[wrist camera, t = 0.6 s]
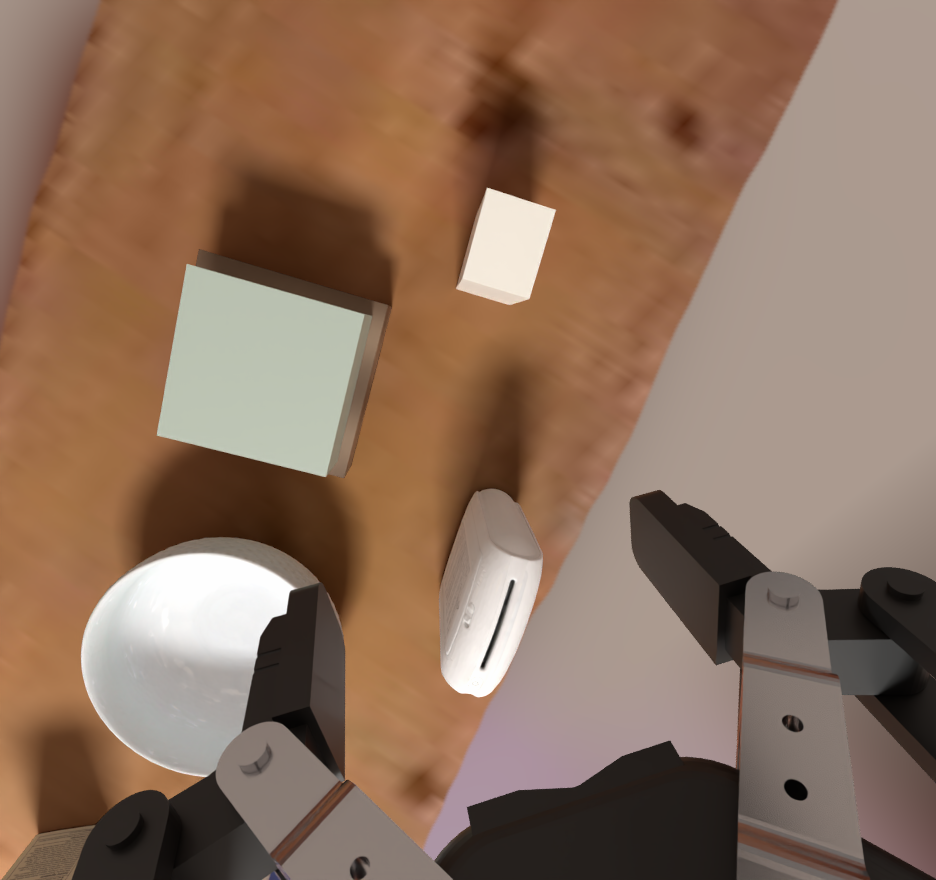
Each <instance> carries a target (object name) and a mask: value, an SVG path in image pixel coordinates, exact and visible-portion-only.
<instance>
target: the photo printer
mask: <svg viewBox="0 0 936 880" xmlns="http://www.w3.org/2000/svg"><path fill="white" fill-rule="evenodd" d="M542 563H543V553H542V551H541V549H540V546H539V544H538V542H537V540H536V538H535V536H534V533H533V531H532V529H531V527H530V525H529V523H528V521H527V519H526V517H525V515H524V512H523V511H522V509H521V507H520V505H519V504H518V503H516V502H514V501H513V500H512V498H511V497H510V496H509V495H508V494H506V493H505V492H503V491H501V490H498V489H485V490H482V491H480V492H478V491H476V492H475V493H474V495H473V497H472V498H471V500H470V502H469V504H468V506H467V509H466V511H465V514H464V517H463V519H462V522H461V525H460V528H459V530H458V533H457V536H456V539H455V542H454V545H453V548H452V551H451V554H450V556H449V559H448V563H447V566H446V569H445V572H444V576H443V579H442V582H441V587H440V594H439V615H440V654H441V671H442V674H443V677H444V678H445V680H446V681H447V683H448V684H449V685H450V686H451V687H452V688H454V689H455V690H456V691H457V692H459V693H468V694H472V695H474V696H477V697H483V696H486V695H488V694H489V693H491V692H492V691H493V689H494V688H495V687H496V686H497V685H498V683H499V682H500V681H501V679H502V678H503V676H504V675H505V673H506V671H507V669H508V667H509V665H510V663H511V661H512V659H513V657H514V655H515V653H516V650H517V648H518V646H519V643H520V641H521V638H522V635H523V633H524V630H525V628H526V625H527V622H528V619H529V616H530V613H531V610H532V607H533V604H534V601H535V597H536V594H537V590H538V586H539V582H540V578H541V573H542Z"/></svg>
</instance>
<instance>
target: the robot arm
mask: <svg viewBox="0 0 936 880" xmlns="http://www.w3.org/2000/svg"><path fill="white" fill-rule="evenodd" d="M630 522H631V541H632V549H633V553H634V556H635V559H636V561H637V563H638V565H639V567H640V568H641V570H642V571H643V572H644V574H645V575H646V576H647V577H648V579H649V580H650V581H651V582H652V584H653V585H654V586H655V588H656V589H657V590H658V592H659V593H660V594H661V595H662V597H663V598H664V599H665V601H666V602H667V603H668V604H669V606H670V607H671V608H672V610H673V611H674V612H675V613H676V614H677V616H678V617H679V618H680V620H681V621H682V622H683V623H684V625H685V626H686V627H687V629H688V630H689V631H690V632H691V634H692V635H693V636H694V638H695V639H696V640H697V641H698V643H699V644H700V645H701V647H702V648H703V649H704V650H705V652H706V653H707V654H708V656H710V658H711V659H712V661H713V662H714V663H715V664H716V665H718V664H722V663H725V662H728V661H731V660H734V661H735V662H736V664H737V665H738V666H739V667H740V678H739V702H738V726H737V749H736V768H733V767H731V766H729V765H726V764H723V763H720V762H716V761H713V760H708V759H703V758H693V757H679V755H678V753H677V752H676V750H675V748H674V746H673V745H672V743H671V741H667V742H664V743H661V744H658V745H655V746H652V747H649V748H646V749H643V750H640V751H636V752H633V753H630V754H627V755H625V756H622V757H620V758H619V759H617V760H616V761H614V762H613V763H612V764H610V765H608V766H607V767H605V768H604V769H603V770H601V771H600V772H598V773H597V774H595V775H594V776H593V777H591V778H589V779H588V780H586V781H585V782H584V783H582V784H581V785H579V786H576V787H573V788H558V789H557V788H556V789H535V790H518V791H515V792H512V793H509V794H506V795H503V796H500V797H497V798H493V799H490V800H488V801H484V802H481V803H478V804H475V805H473V806H469V807H467V810H468V815H469V820H470V826H469V827H468V828H466V829H465V830H463V831H462V832H461V833H459V834H458V835H457V836H456V837H455V838H454V839H453V840H451V842H449V844H448V845H447V846H446V847H445V848H444V849H443V850H442V851H441V852H440V854H439V855H438V856H437V858H436V859H435V861H433V860H432V859H431V858H430V857H429V856H428V855H427V854H426V853H425V852H424V851H423V850H422V849H421V848H420V847H419V846H418V845H417V844H416V843H415V842H414V841H413V840H412V839H411V838H410V837H409V836H408V835H407V834H406V833H405V832H404V831H403V830H402V829H401V828H399V827H398V826H397V825H396V824H395V823H394V822H393V821H392V820H391V819H390V818H389V817H388V816H387V815H386V814H385V813H384V812H383V811H382V810H381V809H380V808H379V807H378V806H377V805H376V804H375V803H374V802H373V801H372V800H371V799H370V798H369V797H368V796H367V795H366V794H365V793H363V792H362V791H361V790H360V789H359V788H358V787H357V786H356V785H355V784H354V783H352V782H351V781H349V780H346V781H345V646H344V640H343V635H342V631H341V628H340V625H339V623H338V620H337V617H336V615H335V612H334V610H333V607H332V605H331V602H330V599H329V597H328V594H327V592H326V589H325V587H324V585H323V583H321V582H320V583H316V584H313V585H309V586H305V587H302V588H298V589H294V590H291V591H290V593H289V598H288V605H287V612H286V614H284V615H280V616H277V617H273V618H272V619H271V620H270V622H269V624H268V625H267V627H266V628H265V630H264V631H263V633H262V634H261V636H260V640H259V646H258V651H257V658H256V661H255V666H254V674H253V676H252V681H251V686H250V692H249V697H248V702H247V707H246V712H245V717H244V722H243V727H242V732H241V733H240V734H239V735H238V736H237V737H235V738H234V739H233V740H232V741H231V742H230V744H229V745H228V746H227V747H226V749H225V750H224V752H223V753H222V755H221V757H220V759H219V762H218V764H217V768H216V770H215V771H214V772H212V773H211V774H210V775H208V776H207V777H205V778H204V779H202V780H201V781H199V782H197V783H196V784H194V785H192V786H191V787H189V788H187V789H186V790H184V791H182V792H181V793H179V794H177V795H176V796H174V797H173V798H171V799H169V800H168V799H167V798H166V796H165V795H164V794H162V793H161V792H159V791H156V790H146V791H142V792H138V793H135V794H133V795H131V796H129V797H127V798H125V799H124V800H122V801H121V802H119V803H118V804H116V805H115V806H114V807H113V808H111V809H110V810H109V811H108V812H107V813H106V814H105V815H104V816H103V817H102V818H101V819H100V820H99V822H98V823H97V824H96V825H95V827H94V828H93V829H92V831H91V832H90V834H89V836H88V838H87V839H86V841H85V844H84V846H83V849H82V851H81V854H80V857H79V860H78V863H77V866H76V868H75V871H74V874H73V877H72V880H262V879H264V878H265V877H267V876H268V875H270V874H271V873H272V872H275V874H276V875H277V876H278V878H279V879H280V880H936V879H935V878H933V877H932V876H930V875H928V874H926V873H924V872H923V871H921V870H919V869H917V868H915V867H914V866H912V865H910V864H908V863H906V862H905V861H903V860H901V859H899V858H897V857H896V856H894V855H892V854H890V853H888V852H887V851H885V850H883V849H881V848H879V847H878V846H876V845H874V844H872V843H871V842H868V841H867V840H865V839H863V838H861V835H860V827H859V820H858V813H857V804H856V797H855V789H854V782H853V774H852V767H851V760H850V753H849V745H848V737H847V730H846V722H845V715H844V707H843V700H842V695H855V696H856V697H857V698H858V700H859V701H860V702H861V703H862V704H863V705H864V706H865V707H866V708H867V709H868V710H869V712H870V713H871V714H872V715H873V716H874V717H875V718H876V719H877V720H878V721H879V722H880V723H881V724H882V726H883V727H884V728H885V729H886V730H887V731H888V732H889V733H890V734H891V735H892V736H893V737H894V739H895V740H896V741H897V742H898V743H899V744H900V745H901V746H902V747H903V748H904V749H905V750H906V752H907V753H908V754H909V755H910V756H911V757H912V758H913V759H914V760H915V761H916V762H917V763H918V765H920V767H921V768H922V769H923V770H924V771H925V772H926V773H927V774H928V775H929V776H930V777H931V779H932V780H934V782H935V783H936V680H935V679H936V582H935V581H933V580H932V579H930V578H928V577H926V576H924V575H922V574H919V573H916V572H913V571H910V570H905V569H900V568H892V567H884V568H877V569H873V570H870V571H869V572H867V573H866V574H865V575H864V576H863V578H862V582H861V587H860V589H838V590H837V589H836V590H817V589H816V587H814V586H813V585H812V584H811V583H809V582H808V581H806V580H804V579H802V578H801V577H798V576H796V575H792V574H789V573H784V572H772V571H771V570H769V569H768V568H767V567H766V566H765V565H764V564H763V563H761V561H759V560H758V559H757V558H756V557H755V556H754V555H753V554H752V553H750V552H749V551H748V550H747V549H746V548H745V547H744V546H742V545H741V544H740V543H739V542H738V541H737V540H736V539H735V538H734V537H730V535H729V533H728V532H727V531H726V530H725V529H724V528H722V527H721V526H720V527H719V525H718V523H717V522H716V521H715V520H713V519H712V518H711V517H710V516H709V515H708V514H707V513H705V512H704V511H702V510H699V509H697V508H695V507H693V506H690V505H688V504H686V503H684V504H680V505H677V504H676V503H674V502H673V501H672V500H671V499H670V498H669V497H668V496H667V495H666V494H665V493H664V492H662V491H661V490H657V491H653V492H650V493H646V494H643V495H639V496H635V497H632V498H631V499H630ZM930 674H931V675H932V676H933V677H934V678H935V679H934V678H933V677H932V676H931V675H930ZM343 781H345V782H344V783H342V782H343Z"/></svg>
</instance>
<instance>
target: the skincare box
mask: <svg viewBox="0 0 936 880" xmlns="http://www.w3.org/2000/svg"><path fill="white" fill-rule="evenodd" d="M94 827H95V825H92V826H85V827H78V828H72V829H65V830H58V831H52V832H47V833H41V834H37V835H36V836H35V837H34V838H33V840H32V841H31V842H30V844H29V845H28V846H27V847H26V849H25V850H24V851H23V853H22V854H21V855H20V856H19V858H18V859H17V860H16V862H15V863H14V864H13V866H12V867H11V868H10V869H9V871H8V872H7V873H6V875H5V876H4V877H3V878H2V880H72V877H73V874H74V871H75V868H76V866H77V863H78V860H79V857H80V854H81V851H82V849H83V846H84V844H85V841H86V839H87V838H88V836H89V834H90V832H91V831H92V829H93V828H94Z"/></svg>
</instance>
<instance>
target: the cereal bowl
mask: <svg viewBox="0 0 936 880" xmlns="http://www.w3.org/2000/svg"><path fill="white" fill-rule="evenodd" d="M316 583H320V582H319V581H318V579H317V578H316V577H315V576H314V575H313V573H311V572H310V571H309V570H308V568H305V567H304V566H303V565H302V564H301V563H299V562H298V561H297V560H296V559H293V558H292V557H291V556H289V555H287V554H286V553H284V552H282V551H280V550H278V549H275V548H273V547H272V546H268V545H266V544H262V543H260V542H256V541H252V540H246V539H239V538H231V537H217V538H203V539H199V540H192V541H188V542H183V543H180V544H178V545H174V546H171V547H169V548H167V549H166V550H163V551H160V552H158V553H157V554H155V555H153V556H151V557H149V558H147V559H146V560H144V561H143V562H141V563H139V564H138V565H136V566H135V567H134V568H132V569H130V570H129V571H128V572H127V573H126V574H124V575H123V576H121V577H120V578H119V579H118V580H117V581H116V582H115V583H114V584H113V585H112V586H110V587H109V589H108V590H107V591H106V593H105V594H104V595H103V597H102V598H101V599H100V601H99V602H98V604H97V605H96V607H95V609H94V610H93V612H92V614H91V616H90V618H89V620H88V623H87V626H86V629H85V632H84V636H83V641H82V649H81V666H82V673H83V678H84V682H85V686H86V689H87V692H88V695H89V697H90V700H91V702H92V704H93V706H94V708H95V710H96V711H97V713H98V714H99V716H100V718H101V719H102V720H103V722H104V723H105V724H106V725H107V727H108V728H109V729H110V730H111V731H112V732H113V733H114V735H115V736H116V737H118V738H119V739H120V740H121V741H122V742H123V743H124V744H125V745H126V746H128V747H129V748H130V749H132V750H133V751H135V752H136V753H137V754H139V755H141V756H143V757H144V758H146V759H148V760H149V761H151V762H153V763H155V764H158V765H160V766H162V767H164V768H167V769H170V770H173V771H176V772H180V773H184V774H189V775H194V776H202V777H207V776H208V775H210V774H211V773H212V772H214V771H215V770H216V768H217V764H218V762H219V759H220V757H221V755H222V753H223V752H224V750H225V749H226V747H227V746H228V745H229V744H230V742H231V741H232V740H233V739H234V738H235V737H237V736H238V735H239V734H240V733H241V732H242V727H243V722H244V717H245V712H246V707H247V702H248V697H249V692H250V686H251V681H252V676H253V674H254V666H255V661H256V658H257V651H258V646H259V640H260V636H261V634H262V633H263V631H264V630H265V628H266V627H267V625H268V624H269V622H270V620H271V619H272V618H273V617H277V616H280V615H284V614H286V612H287V605H288V598H289V593H290V591H291V590H294V589H298V588H302V587H305V586H309V585H313V584H316ZM327 594H328V593H327ZM328 597H329V599H330V602H331V605H332V607H333V610H334V612H335V615H336V617H337V620H338V623H339V625H340V628H341V631H342V626H341V623H340V620H339V615H338V613H337V611H336V608H335V605H334V603H333V602H332V600H331V598H330V596H329V594H328ZM342 635H343V632H342Z"/></svg>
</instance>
